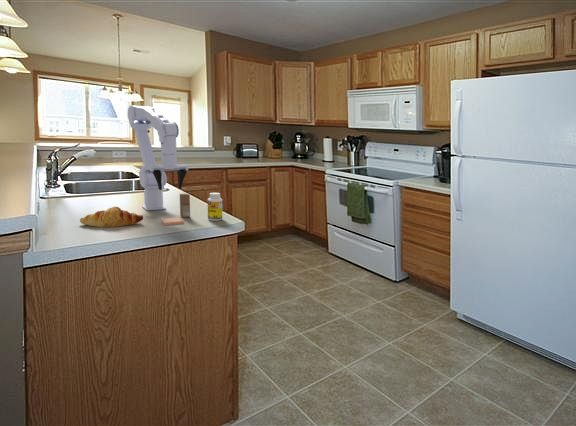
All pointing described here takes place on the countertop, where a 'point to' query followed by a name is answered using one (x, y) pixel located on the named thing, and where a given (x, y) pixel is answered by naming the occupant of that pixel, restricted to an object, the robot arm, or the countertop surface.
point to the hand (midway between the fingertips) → (170, 189)
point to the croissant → (111, 218)
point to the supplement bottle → (215, 207)
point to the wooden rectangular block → (184, 205)
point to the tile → (172, 221)
